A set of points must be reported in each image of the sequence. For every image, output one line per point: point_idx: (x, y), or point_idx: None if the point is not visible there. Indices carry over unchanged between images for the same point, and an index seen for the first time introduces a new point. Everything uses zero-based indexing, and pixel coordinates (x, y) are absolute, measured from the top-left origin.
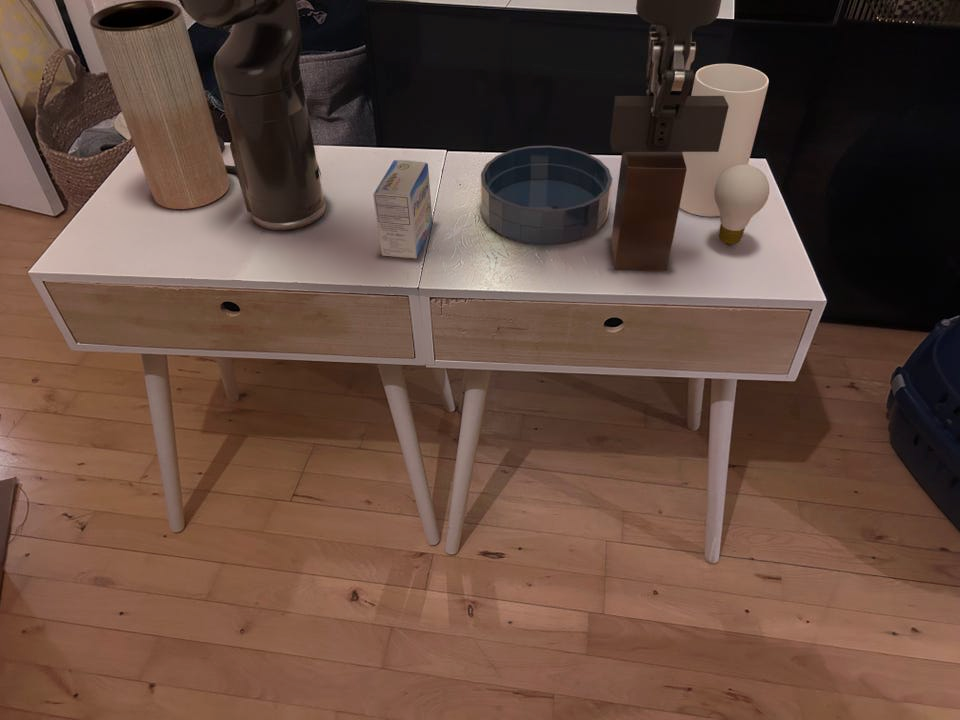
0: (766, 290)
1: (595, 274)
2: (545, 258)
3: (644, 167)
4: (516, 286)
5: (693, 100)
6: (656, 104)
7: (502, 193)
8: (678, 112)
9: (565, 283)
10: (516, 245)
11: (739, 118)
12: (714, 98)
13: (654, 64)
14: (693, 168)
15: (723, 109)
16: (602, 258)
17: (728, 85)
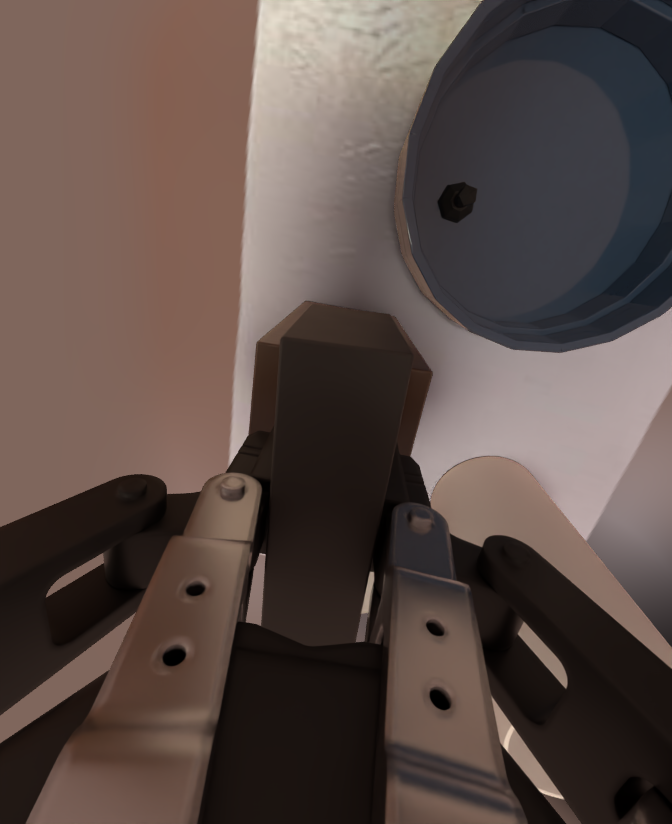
0: None
1: (295, 262)
2: (358, 165)
3: (255, 389)
4: (268, 76)
5: (308, 645)
6: (106, 514)
7: (642, 82)
8: (87, 576)
9: (272, 194)
10: (416, 99)
11: None
12: None
13: (92, 709)
14: (483, 513)
15: None
16: (343, 287)
17: None
